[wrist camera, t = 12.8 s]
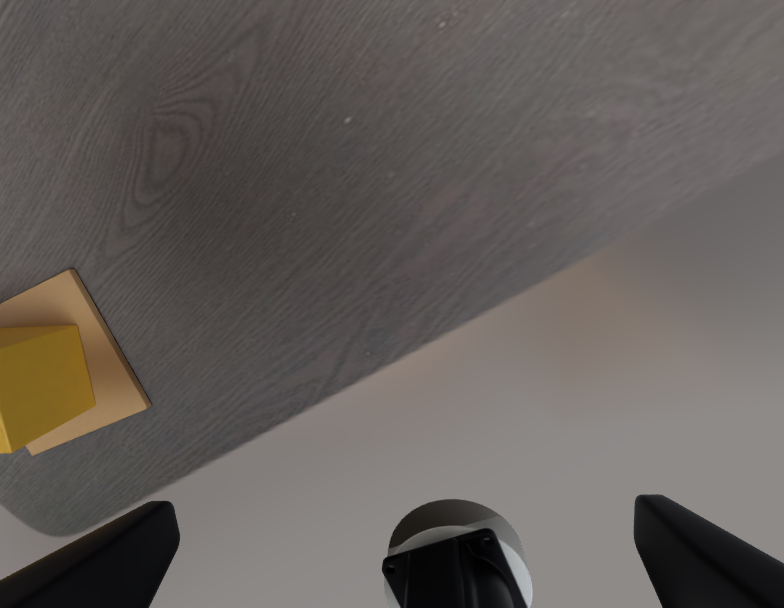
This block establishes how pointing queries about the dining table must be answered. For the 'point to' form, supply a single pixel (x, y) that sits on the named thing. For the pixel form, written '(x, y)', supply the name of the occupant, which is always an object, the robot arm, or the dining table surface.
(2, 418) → the mustard cube
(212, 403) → the dining table surface
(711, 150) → the dining table surface
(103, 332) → the cork coaster
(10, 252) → the dining table surface
